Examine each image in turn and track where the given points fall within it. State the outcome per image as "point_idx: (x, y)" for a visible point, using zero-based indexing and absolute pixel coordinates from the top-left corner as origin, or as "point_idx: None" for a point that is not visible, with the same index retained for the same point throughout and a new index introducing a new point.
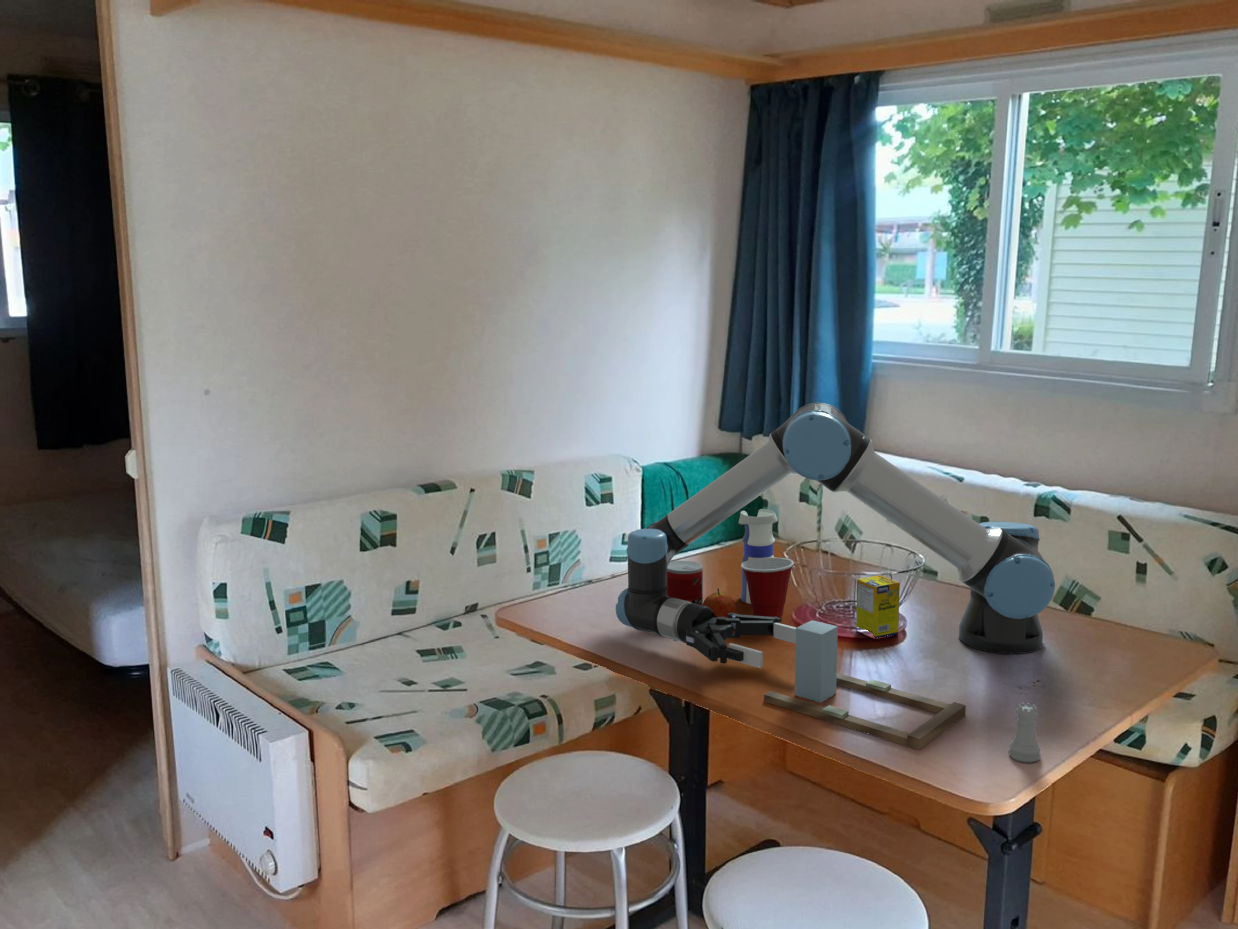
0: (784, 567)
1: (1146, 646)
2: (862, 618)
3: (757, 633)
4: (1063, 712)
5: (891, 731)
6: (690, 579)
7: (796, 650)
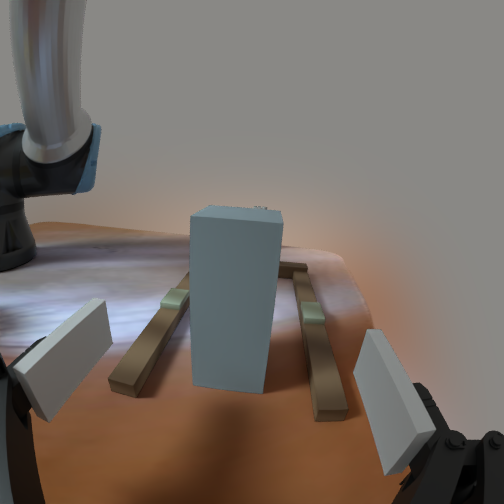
0: None
1: (33, 229)
2: None
3: (34, 472)
4: (159, 241)
5: (304, 279)
6: None
7: (275, 291)
